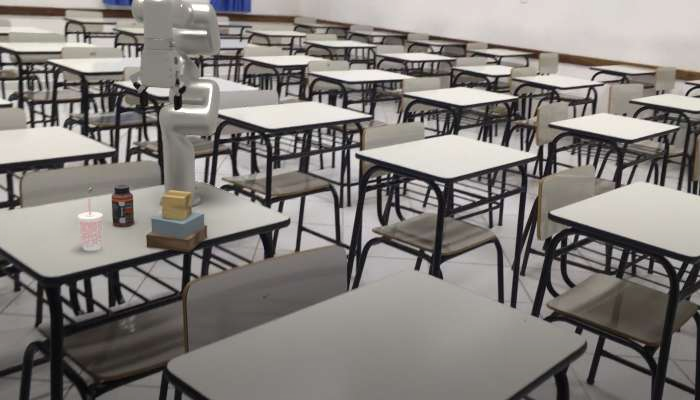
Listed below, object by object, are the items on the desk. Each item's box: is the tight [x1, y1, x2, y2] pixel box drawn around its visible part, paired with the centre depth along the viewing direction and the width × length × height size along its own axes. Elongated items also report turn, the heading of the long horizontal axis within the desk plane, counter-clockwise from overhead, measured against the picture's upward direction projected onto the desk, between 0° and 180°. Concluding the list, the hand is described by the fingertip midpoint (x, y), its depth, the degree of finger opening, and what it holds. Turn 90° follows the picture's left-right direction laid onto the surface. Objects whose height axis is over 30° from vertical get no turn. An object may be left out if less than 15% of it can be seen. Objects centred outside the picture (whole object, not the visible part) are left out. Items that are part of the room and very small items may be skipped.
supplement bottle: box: [111, 184, 135, 227], centre depth 200 cm, size 6×6×11 cm
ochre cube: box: [161, 190, 193, 220], centre depth 186 cm, size 6×6×6 cm
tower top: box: [150, 211, 205, 238], centre depth 188 cm, size 10×10×4 cm
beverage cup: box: [77, 196, 104, 252], centre depth 180 cm, size 6×6×14 cm
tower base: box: [145, 224, 208, 253], centre depth 189 cm, size 12×12×4 cm
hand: (161, 108), depth 191 cm, fingers open, 9 cm apart
